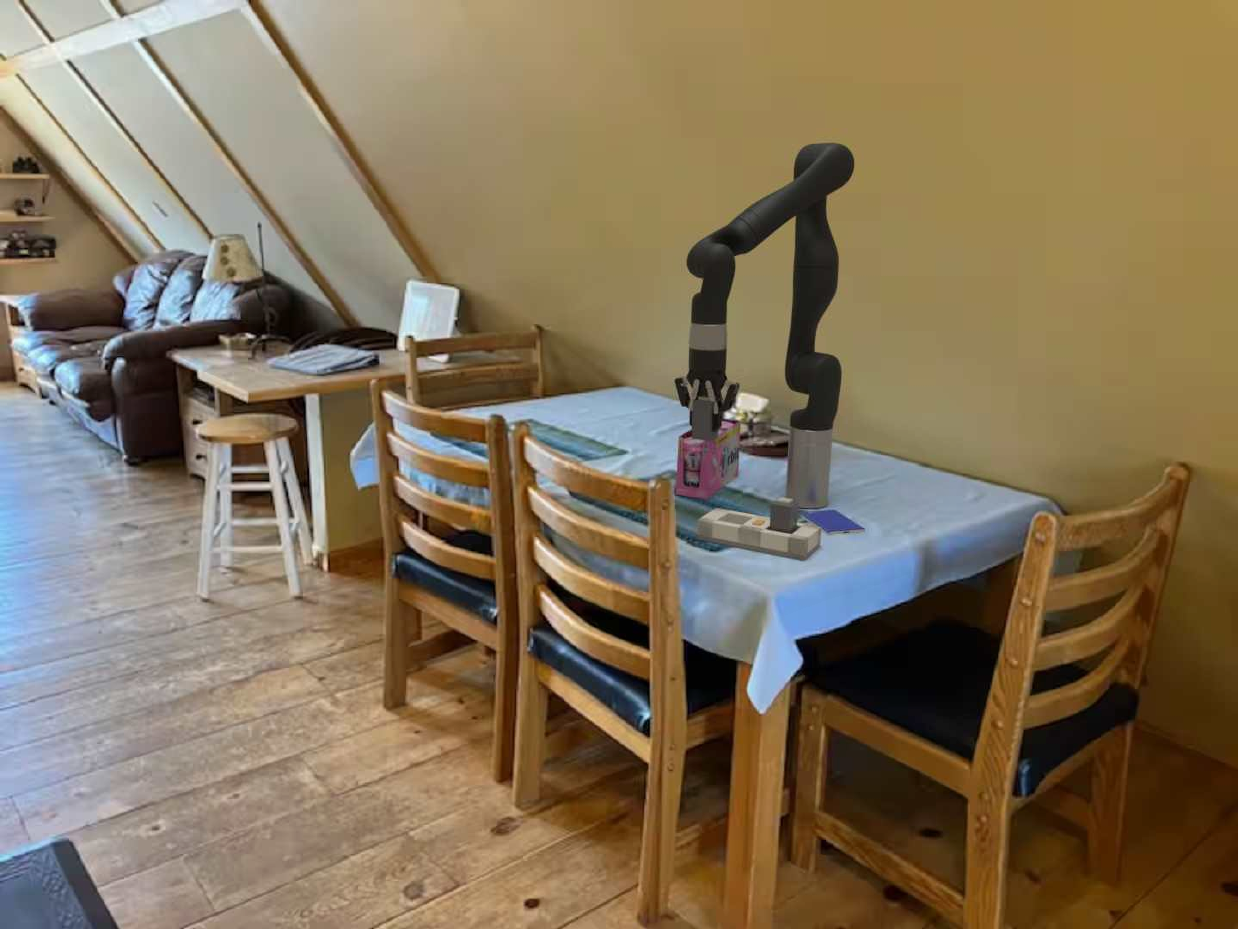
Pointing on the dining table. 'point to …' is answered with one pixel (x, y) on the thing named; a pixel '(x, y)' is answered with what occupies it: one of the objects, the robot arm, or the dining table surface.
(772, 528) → the twin plug
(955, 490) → the dining table surface
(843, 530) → the hard drive
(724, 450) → the gum box
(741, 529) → the strip
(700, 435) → the plug
